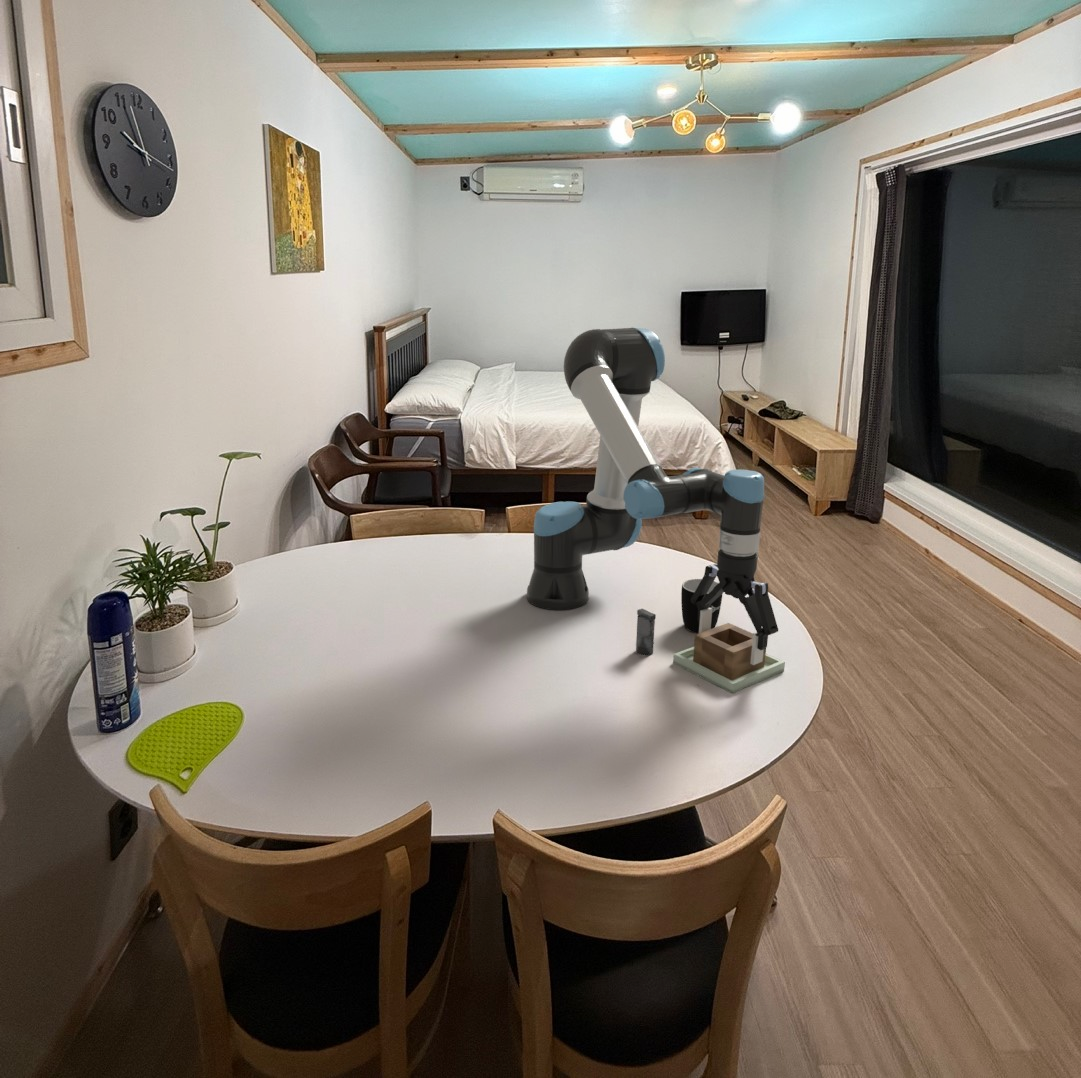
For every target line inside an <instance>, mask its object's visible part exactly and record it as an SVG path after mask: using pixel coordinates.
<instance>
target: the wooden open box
mask: <svg viewBox="0 0 1081 1078" xmlns="http://www.w3.org/2000/svg"><path fill="white" fill-rule="evenodd" d="M752 642H753V632H751V631H748V630H746V629H744V628H741V627H739V626H738V625H734V624H733V623H730V622H727V623H723V624H721V625H719V626H715V628H712V629H710V630H707V631H704V632H701V633H695V635H694V645H693V647H694V656H693V662H695V663H697V664H699V665H701V666H703V667H705V668H707V669H709V670H711V671H713V672H715V673H717V674H719V675H721V676H723V677H725V678H727V679H729V680H734V679H736V678H739V677H741V676H743V675H746V674H748V673H750V672H753V671H755V670H758V669H760V668H762V667H764V665H765V655H766V654H767V653H766V652H767V648H766V649H764V651H763V661H762V662H760V663H758V664H755V665H752V664H750V662H751V652H752Z"/></svg>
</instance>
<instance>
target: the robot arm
mask: <svg viewBox="0 0 1081 1078" xmlns="http://www.w3.org/2000/svg"><path fill="white" fill-rule="evenodd" d="M665 356H666V355H665V350H664V348H663V344H662V343H661V339H660V338H659V336H658V335H657V334H656V333H655V332H653V331H652V329H651V330H650V329H647V328H638V327H627V328H626V327H625V328H605V329H600V328H596V329H594V328H593V329H589V330H585V331H584V332H582V333H580V334H579V335H577V336H576V337H575V338H574V339H573V340H572V341H571V343H570V345H568V347H567V349H566V353H565V355H564V360H563V375H564V380H565V381H566V384H567V387H568V389H569V391H570V392H571V394H572V396H573V397H574V398H575V399H578V400H580V401H581V403H582V404H583V406H584V409H585V410H586V412H587V414H588V416H589V418H590V420H591V421H592V423H593V425H594V427H595V429H596V430H597V432H598V434H599V444H598V452H597V460H596V469H595V471H596V472H595V478H594V479H595V480H594V486H593V487H594V488H593V489H592V490H591V491H589V492H588V494H587V495H586V502H585V506H583V505H582V503H580V502H577V501H570V500H568V501H567V500H566V501H561V500H560V501H556V502H550V503H548V504H545V505H543V506H541V507H540V508H539V509H537V511H536V512H535V513H534V514H535V515H534V521H533V522H534V523H533V528H532V529H533V570H532V574H531V577H530V581H529V584H528V586H527V589H526V599H527V601H528V603H530V604H531V605H533V606H535V607H538V608H541V609H546V610H554V611H556V610H558V611H560V610H561V611H562V610H572V609H576V608H579V607H582V606H584V605H585V604H587V602H588V601H589V594H590V593H589V587H588V584H587V580H586V577H585V574H584V572H583V556H586V555H591V554H597V553H603V552H608V551H619V550H622V549H625V548H628V547H630V546H632V545H634V543H636V541H637V540H638V539H639V536H640V534H641V531H642V525H643V524H642V523H643V522H642V521H643V520H645V519H646V520H647V519H651V520H653V519H658V518H662V517H667V516H673V515H678V514H679V515H681V514H687V513H693V512H699V511H709V512H712V513H714V514H716V515H719V516H720V525H719V527H720V528H719V537H718V538H719V539H718V547H719V550H718V551H717V563H713V564H709V565H706V566H705V569H704V575H703V576H702V578H701V579H702V580H701V582H700V584H699V585H698V587H697V589H696V591H695V593H694V594H693V596H692V598H691V602H692V603H693V604H694V603H695V604H696V605H697V608H698V622H699V623H700V624H699V633H701V632H704V631H707V630H710V629H711V618H712V608H710V607H709V608H708V606H711V604H712V603H713V602H714V601H715V600H716V599H717V598H718V597H719V596H720V595H721V594H722V593H723V594H725V595H727V596H731V597H733V598H734V599H737V600H739V602H740V603H741V604H742V605H743V606H744V609H745V611H746V613H747V614H748V618H749V619H750V621H751V623H752V625H753V628H754V629H755V632H754V633H753V632H752V633H753V642H752V652H751V662H750V664H752V665H755V664H758V663H760V662H762V661H763V651H764V649H766V650H767V648H768V641H769V636H771V635H773V634H776V633H778V632H779V628H778V624H777V620H776V617H775V614H774V609H773V606H772V603H771V599H770V596H769V584H768V582H766V581H764V582H757V581H756V580H755V574H756V572H757V568H758V557H759V554H758V551H759V550H760V547H759V546H760V540H761V539H760V537H761V524H762V514H763V506H764V500H765V478H764V476H763V474H762V473H760V472H758V471H755V470H748V469H731V470H727V471H726V472H725V473H724V474H721V473H718V472H715V471H712V470H711V469H708V468H700V467H692V468H691V467H690V468H689V469H688V470H686V471H685V472H683V473H682V474H678V475H671V476H670V475H669V476H668V475H667V474H666V472H665V471H664V469H663V467H662V466H661V464H660V462H659V461H658V459H657V457H656V456H655V454H654V452H653V450H652V448H651V447H650V445H649V443H648V441H647V440H646V438H645V436H644V434H643V433H642V431H641V430H640V427H639V425H640V424H639V423H640V415H641V409H642V402H643V398H644V397H646V396H647V395H649V394H650V391H651V387H652V386H651V385H652V382H655V381H656V380H658V379H659V378H660V377H661V376H662V375H663V373H664V370H665V364H666V357H665ZM716 578H717V579H718V582H717V583H718V584H717V585H716V586H715V587H714V589H713V590H712V591H711V592H710V593H709V594H708V595H707V596H705V595H706V594H707V592H708V590H709V588H710V587H711V585H712V583H713V581H715V580H716ZM723 594H722V595H723ZM747 595H748V596H747ZM746 596H747V597H746Z"/></svg>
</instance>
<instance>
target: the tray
mask: <svg viewBox="0 0 1081 1078" xmlns="http://www.w3.org/2000/svg"><path fill="white" fill-rule="evenodd" d="M693 656H694V646H692V647H689V648H686V649H684V650H681V651H678V652H675V653H673V656H672V657H673V659H672V660H673V661H672V663H673V664H674V665H677V666H678V667H680V668H682V669H684V670H686V671H688V672H690V673H691V674H694V675H696V676H697V677H700V678H701V679H703V680H705V681H707V682H709V683H711V684H713V685H715V686H717V687H719V688H721V689H723V690H725V691H726V692H728V693H731V694H735V693H736V692H739V691H741V690H743V689H746V688H748V687H750V686H753V685H755V684H757V683H760V682H762V681H764V680H766V679H769V678H771V677H773V676H776V675H778V674H780V673H782V672H784V671H785V665H786V662H785V661H783V660H782V659H780V658H777V657H775V656H772V655H771V654H769V653H766V655H765V665H764V667H762V668H760V669H758V670H755V671H753V672H750V673H748V674H746V675H743V676H741V677H739V678H736V679H734V680H729V679H727V678H725V677H723V676H721V675H719V674H717V673H715V672H713V671H711V670H709V669H707V668H705V667H703V666H701V665H699V664H697V663H695V662H693Z"/></svg>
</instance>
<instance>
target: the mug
mask: <svg viewBox="0 0 1081 1078" xmlns="http://www.w3.org/2000/svg"><path fill="white" fill-rule="evenodd" d="M701 580H702V578H692V579H688V580H685V581H683V583H682V585H681V593H680V595H681V597H680V598H681V599H680V600H681V601H680V602H681V603H680V604H681V614H682V616H681V617H682V622H683V625H684V627H685V629H686V630H688V631H689V632H691V633H695V634H698V633H699V624H700V623H699V622H698V608H697V605H696V604H695V603H694V604H693V603H692V602H691V598H692V596H693V594H694V593H695V591H696V589H697V587H698V585H699V584H700V582H701ZM718 583H719V582H718V581H715V580H714V581H713V583H712V585H711V587H710V588H709V590H708V592H707V594H706V595H705V596H707V595H708V594H709V593H710V592H711V591H712V590H713V589H714V587H715V586H716V585H717V584H718ZM723 595H724V593H722V594H721V595H720V596H719V597H718V598H717V599H716V600H715V601H714V602H713V603H712V604H711V606H708V608H709V607H710V608H712V618H711V629H712V628H715V627H717V626H716V625H717V623H718V621H719V620H718V619H719V616H720V612H721V607H722V600H723Z"/></svg>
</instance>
